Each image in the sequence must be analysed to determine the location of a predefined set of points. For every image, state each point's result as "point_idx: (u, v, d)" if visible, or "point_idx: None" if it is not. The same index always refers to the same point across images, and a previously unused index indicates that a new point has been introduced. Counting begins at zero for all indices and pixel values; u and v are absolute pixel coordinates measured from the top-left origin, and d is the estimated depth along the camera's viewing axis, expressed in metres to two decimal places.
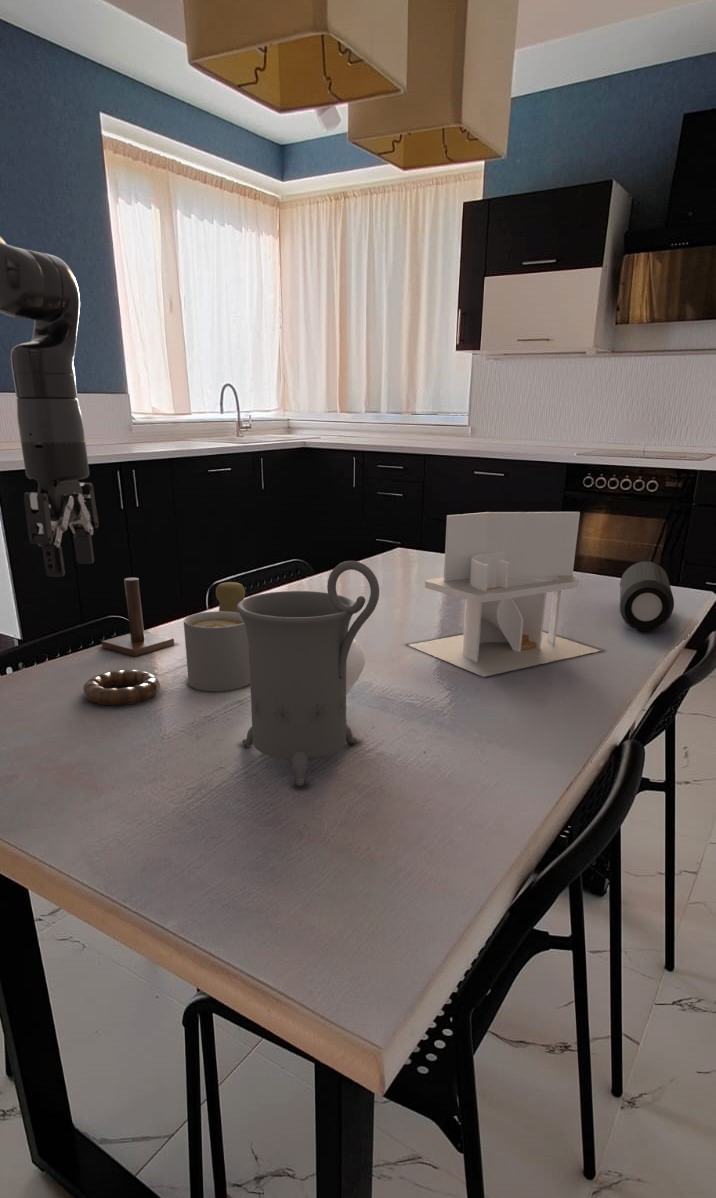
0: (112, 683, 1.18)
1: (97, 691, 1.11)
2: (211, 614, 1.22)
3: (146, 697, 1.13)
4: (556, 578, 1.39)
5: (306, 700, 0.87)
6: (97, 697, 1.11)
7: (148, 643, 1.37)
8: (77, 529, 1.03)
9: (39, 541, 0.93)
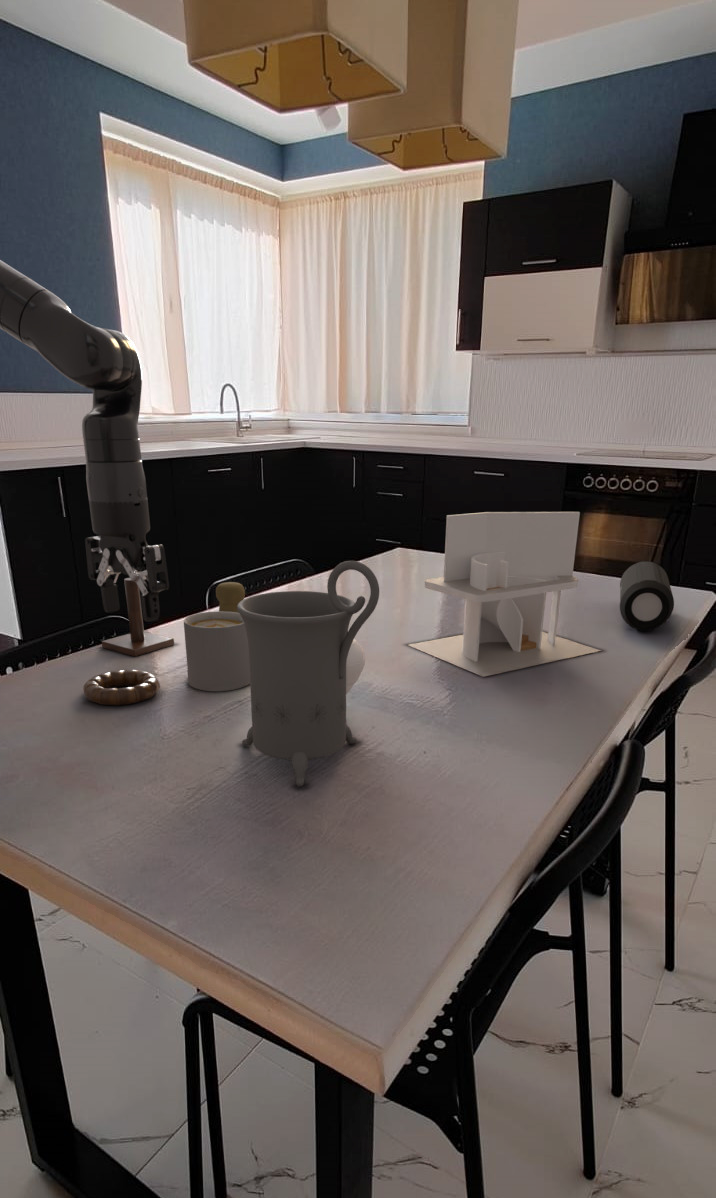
0: (112, 683, 1.18)
1: (97, 691, 1.11)
2: (211, 614, 1.22)
3: (146, 697, 1.13)
4: (556, 578, 1.39)
5: (306, 700, 0.87)
6: (97, 697, 1.11)
7: (148, 643, 1.37)
8: (106, 580, 1.09)
9: (162, 588, 1.03)
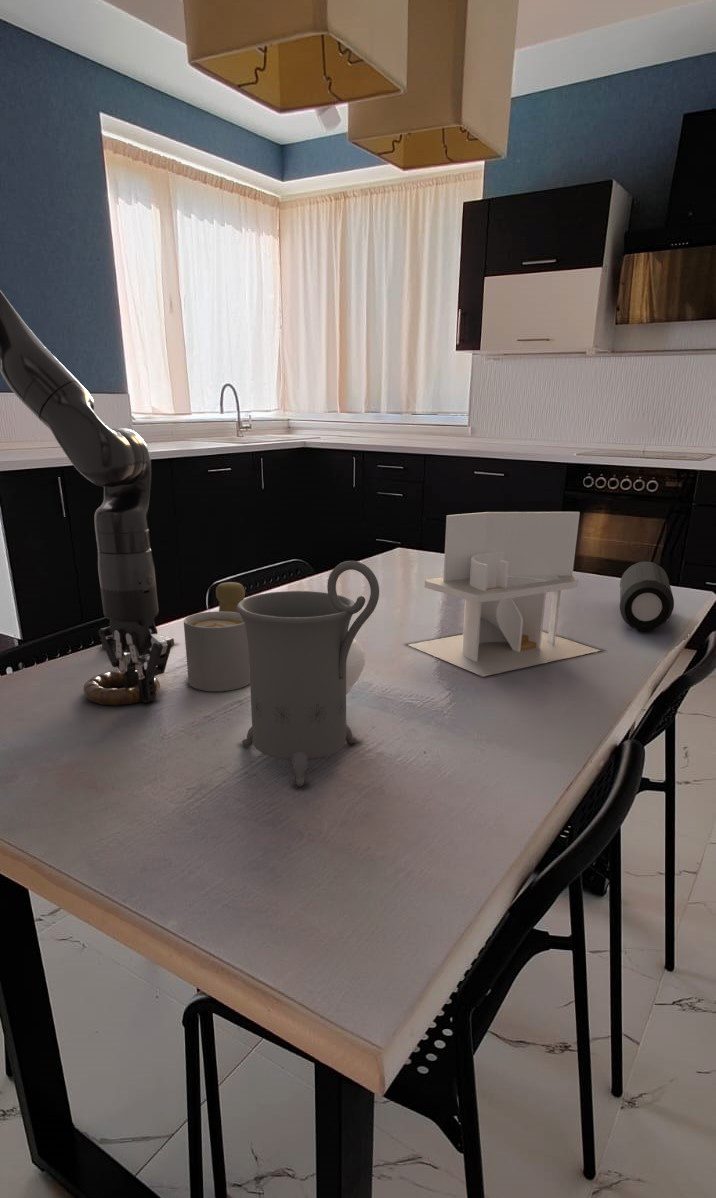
0: (112, 683, 1.18)
1: (97, 691, 1.11)
2: (211, 614, 1.22)
3: None
4: (556, 578, 1.39)
5: (306, 700, 0.87)
6: (97, 697, 1.11)
7: None
8: (128, 668, 1.12)
9: (157, 673, 1.10)
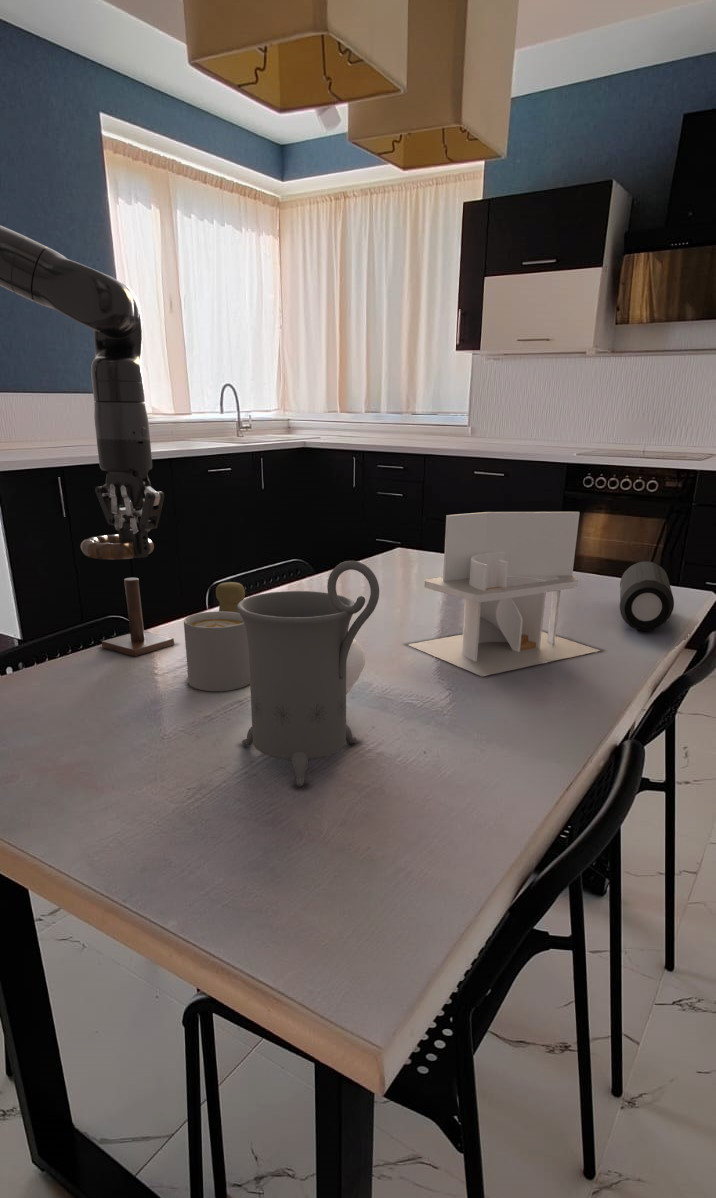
0: None
1: (93, 545, 1.16)
2: (211, 614, 1.22)
3: None
4: (556, 578, 1.39)
5: (306, 700, 0.87)
6: (93, 550, 1.16)
7: (148, 643, 1.37)
8: (123, 525, 1.17)
9: (151, 526, 1.15)
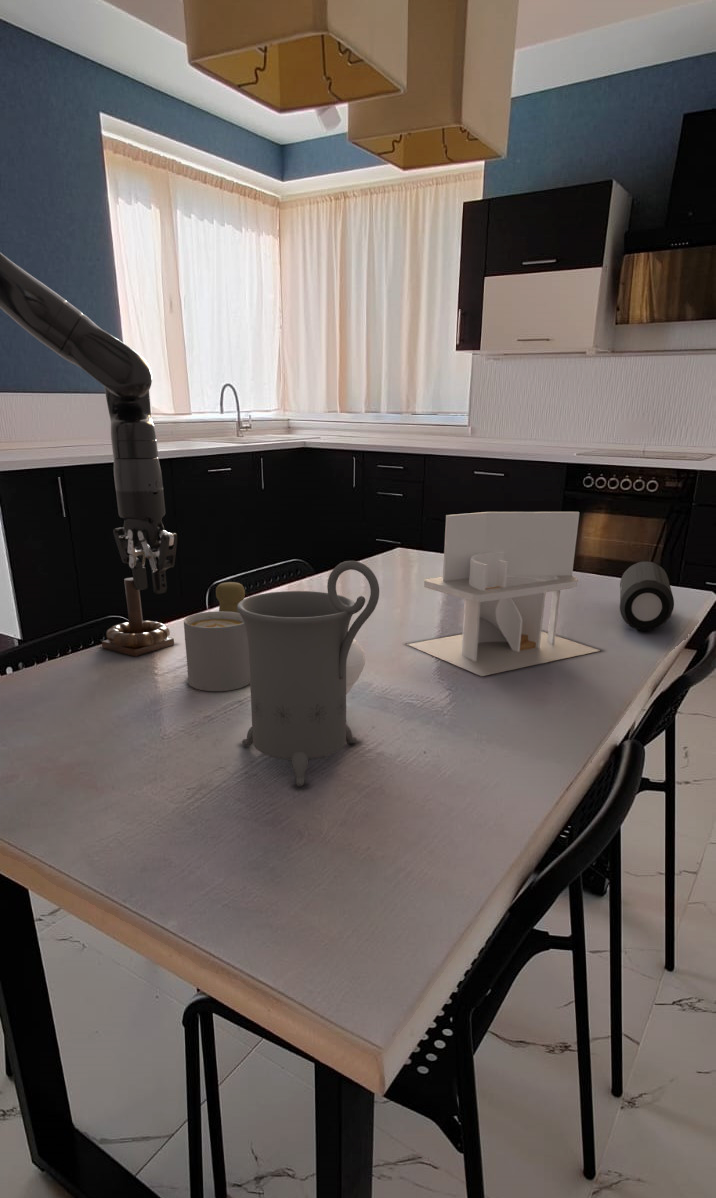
0: None
1: (118, 635, 1.33)
2: (211, 614, 1.22)
3: (159, 641, 1.36)
4: (555, 578, 1.39)
5: (306, 700, 0.87)
6: (118, 640, 1.33)
7: None
8: (136, 563, 1.31)
9: (168, 566, 1.28)
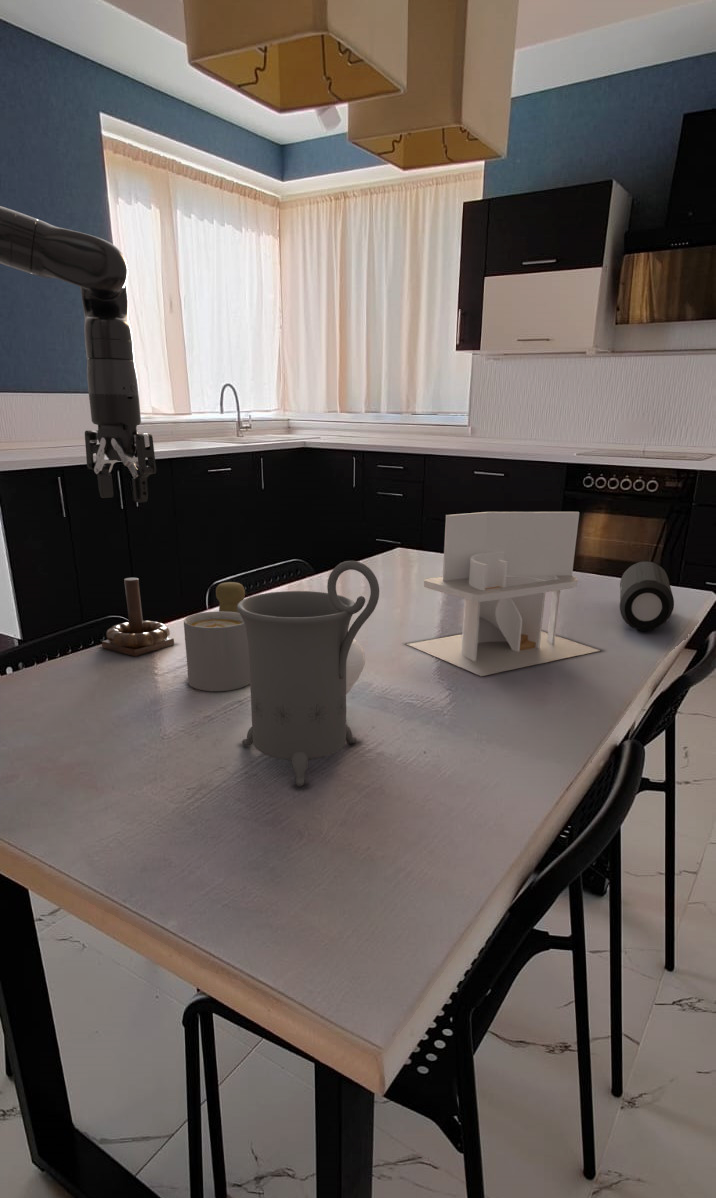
0: None
1: (118, 635, 1.33)
2: (211, 614, 1.22)
3: (159, 641, 1.36)
4: (555, 578, 1.39)
5: (306, 700, 0.87)
6: (118, 640, 1.33)
7: None
8: (102, 468, 1.27)
9: (150, 472, 1.21)
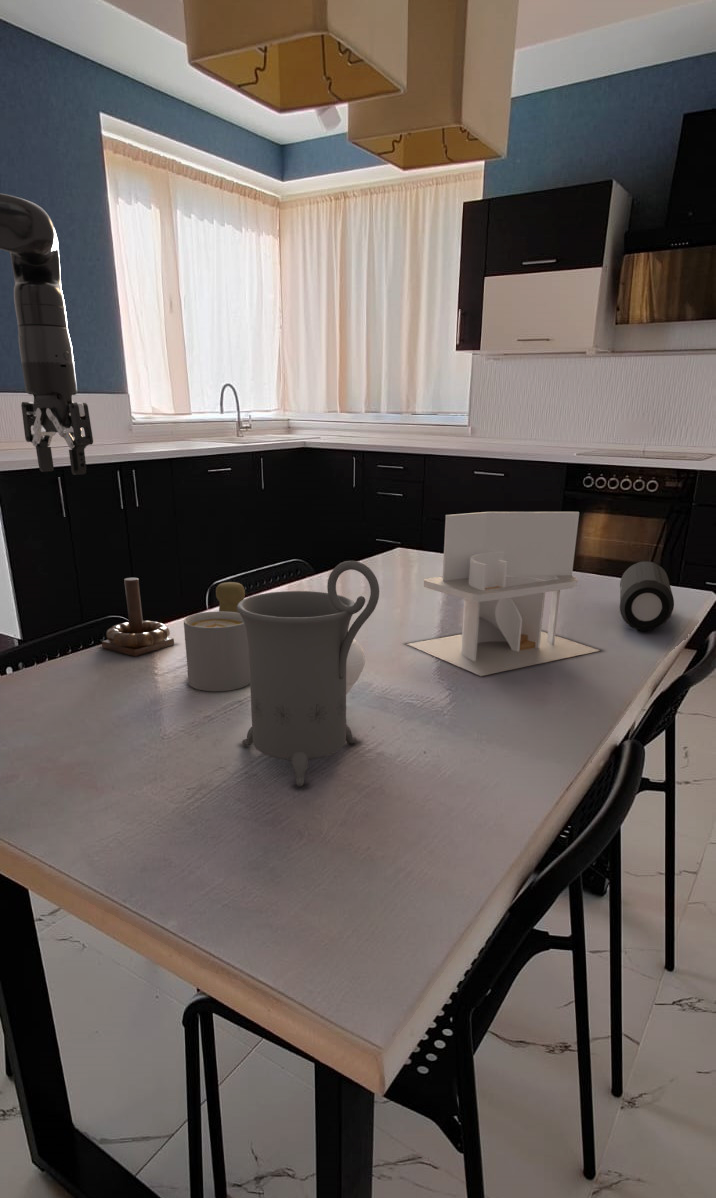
0: None
1: (118, 635, 1.33)
2: (211, 614, 1.22)
3: (159, 641, 1.36)
4: (555, 578, 1.39)
5: (306, 700, 0.87)
6: (118, 640, 1.33)
7: None
8: (40, 441, 1.24)
9: (86, 442, 1.18)
